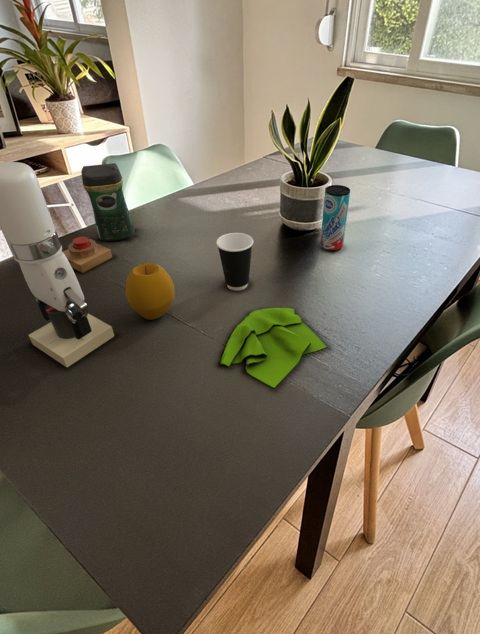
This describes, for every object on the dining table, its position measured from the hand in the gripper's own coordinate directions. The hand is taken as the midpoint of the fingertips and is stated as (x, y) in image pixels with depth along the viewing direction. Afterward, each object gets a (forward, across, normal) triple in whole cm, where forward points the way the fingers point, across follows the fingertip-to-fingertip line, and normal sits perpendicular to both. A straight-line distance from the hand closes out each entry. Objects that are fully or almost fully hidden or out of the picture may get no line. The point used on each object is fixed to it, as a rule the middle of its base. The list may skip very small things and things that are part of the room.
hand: (68, 325), depth 81 cm
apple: (+4, -7, -15) cm, 17 cm away
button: (0, +24, -21) cm, 32 cm away
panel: (+4, 0, 0) cm, 4 cm away
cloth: (+4, -32, -21) cm, 38 cm away
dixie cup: (+4, -14, -34) cm, 37 cm away
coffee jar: (+4, +28, -34) cm, 44 cm away
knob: (+1, 0, 0) cm, 1 cm away
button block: (+4, +24, -21) cm, 32 cm away
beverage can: (+4, -23, -62) cm, 66 cm away
